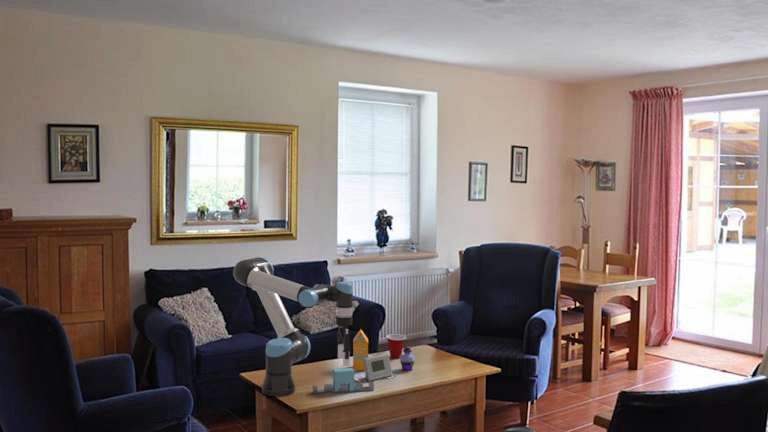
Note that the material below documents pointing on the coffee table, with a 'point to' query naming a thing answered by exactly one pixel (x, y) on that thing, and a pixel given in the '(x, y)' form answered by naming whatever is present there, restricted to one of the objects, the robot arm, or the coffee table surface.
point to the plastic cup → (395, 345)
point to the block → (343, 378)
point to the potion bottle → (407, 359)
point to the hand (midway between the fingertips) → (343, 361)
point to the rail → (343, 388)
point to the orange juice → (360, 350)
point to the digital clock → (377, 367)
